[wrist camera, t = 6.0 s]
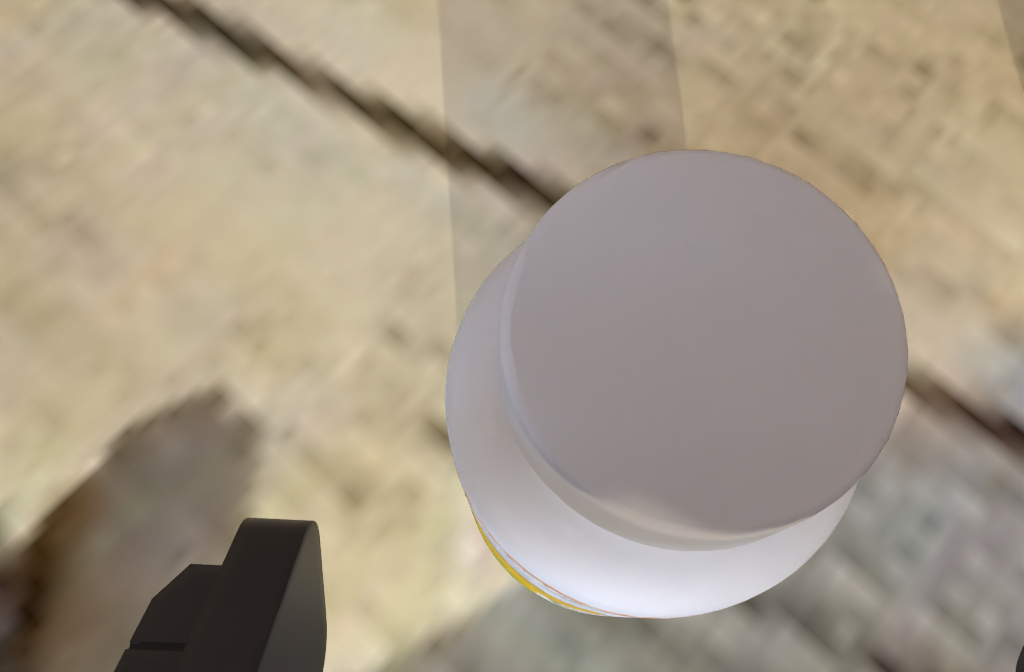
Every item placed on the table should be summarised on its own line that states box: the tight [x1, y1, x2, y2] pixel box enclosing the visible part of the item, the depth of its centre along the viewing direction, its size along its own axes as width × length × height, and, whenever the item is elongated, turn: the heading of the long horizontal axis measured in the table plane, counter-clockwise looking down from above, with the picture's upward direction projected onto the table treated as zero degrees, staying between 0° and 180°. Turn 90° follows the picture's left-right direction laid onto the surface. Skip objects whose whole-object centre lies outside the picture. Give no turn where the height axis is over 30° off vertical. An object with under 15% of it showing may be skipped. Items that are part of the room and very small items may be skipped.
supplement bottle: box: [445, 150, 908, 618], centre depth 13 cm, size 5×5×10 cm
